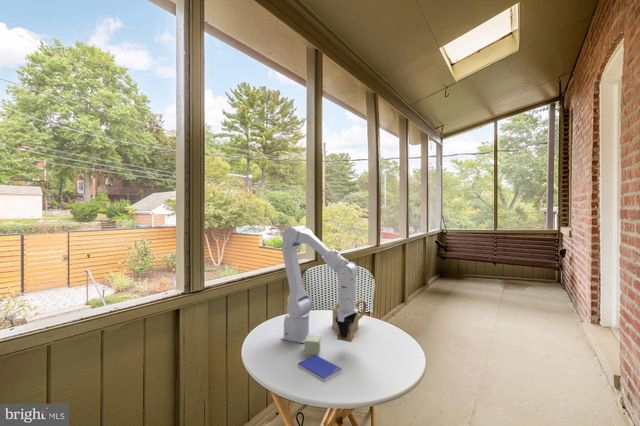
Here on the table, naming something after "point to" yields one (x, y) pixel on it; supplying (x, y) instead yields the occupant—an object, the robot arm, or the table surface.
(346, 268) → the robot arm
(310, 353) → the sage cube
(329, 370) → the hard drive
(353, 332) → the walnut cube
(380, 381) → the table surface
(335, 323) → the beige teapot
